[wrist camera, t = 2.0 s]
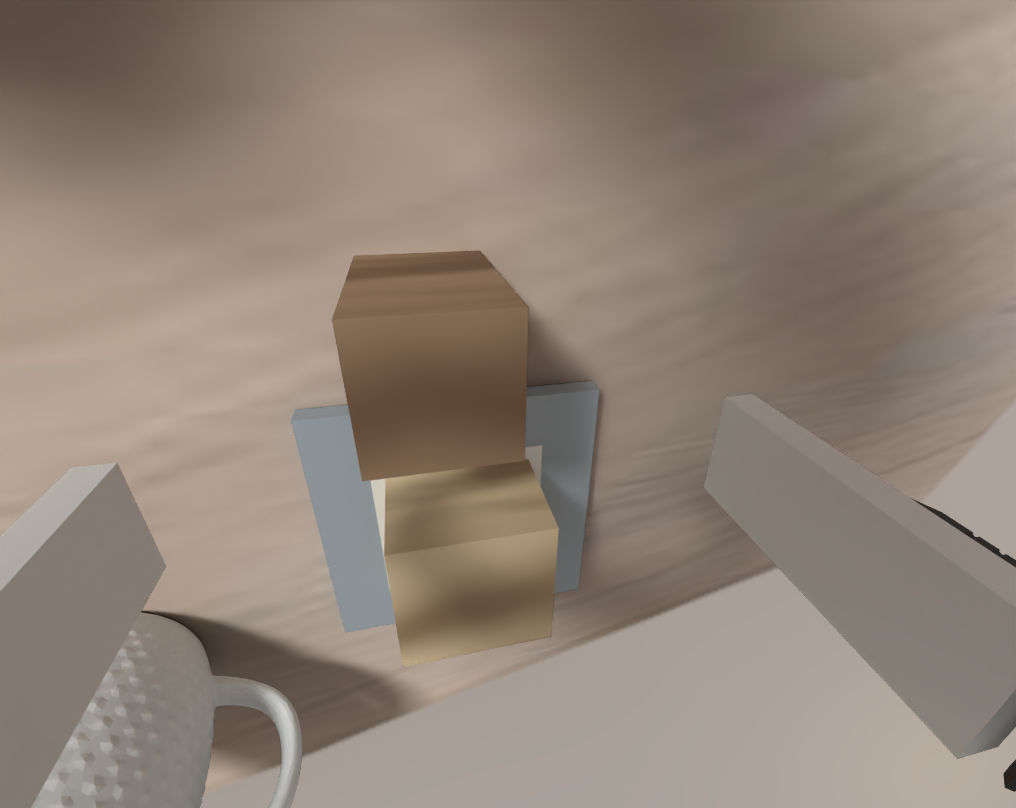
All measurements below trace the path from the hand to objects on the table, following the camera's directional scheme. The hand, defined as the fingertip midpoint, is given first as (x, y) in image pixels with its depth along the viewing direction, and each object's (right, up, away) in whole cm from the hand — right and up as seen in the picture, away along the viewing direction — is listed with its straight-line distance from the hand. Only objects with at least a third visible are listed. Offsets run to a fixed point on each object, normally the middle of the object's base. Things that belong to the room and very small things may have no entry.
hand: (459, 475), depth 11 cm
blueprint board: (-2, -4, +15) cm, 15 cm away
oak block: (-1, -5, +14) cm, 15 cm away
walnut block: (-3, +5, +9) cm, 11 cm away
